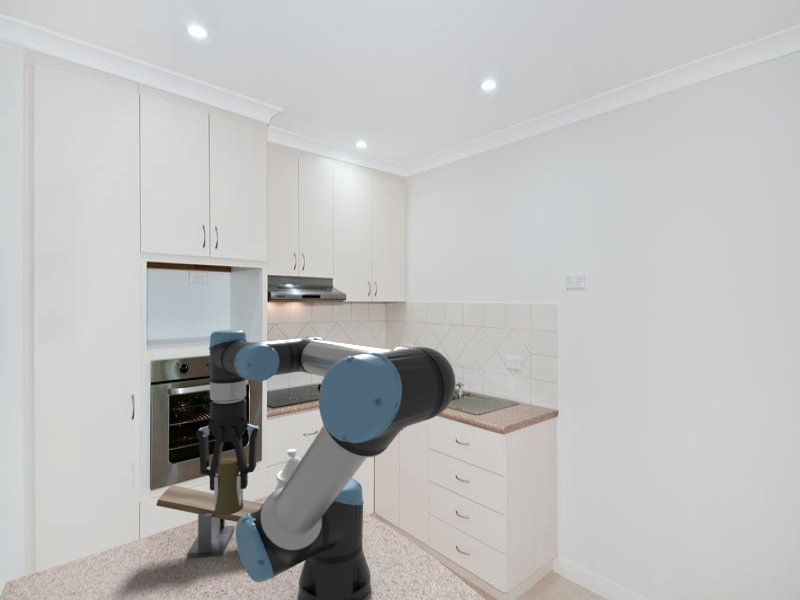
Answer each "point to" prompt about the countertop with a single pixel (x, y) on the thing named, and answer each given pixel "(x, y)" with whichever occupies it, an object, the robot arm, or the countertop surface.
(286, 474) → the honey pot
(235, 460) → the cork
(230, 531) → the seesaw stand
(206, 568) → the countertop surface
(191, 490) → the seesaw plank
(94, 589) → the countertop surface
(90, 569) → the countertop surface
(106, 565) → the countertop surface
